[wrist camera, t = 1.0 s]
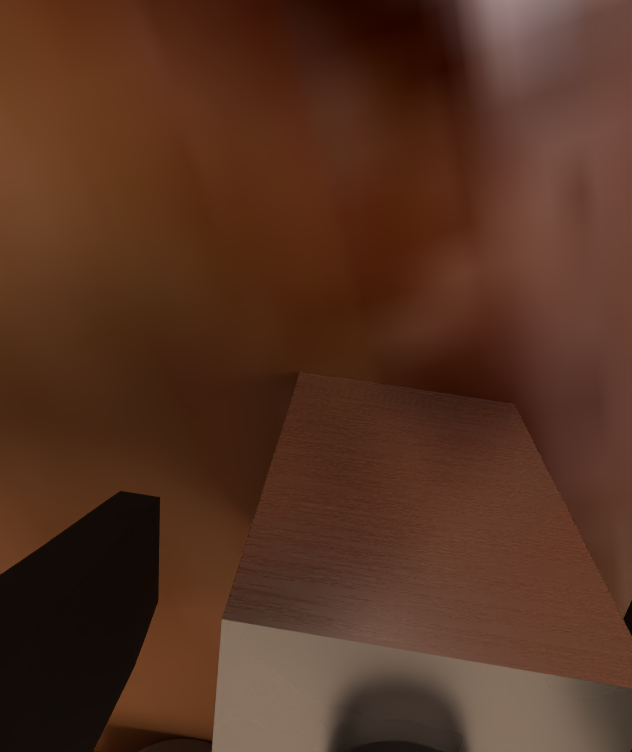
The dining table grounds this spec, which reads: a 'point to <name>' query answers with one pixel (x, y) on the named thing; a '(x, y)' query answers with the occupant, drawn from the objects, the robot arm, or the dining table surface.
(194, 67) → the dining table surface
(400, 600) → the block
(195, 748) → the chassis
